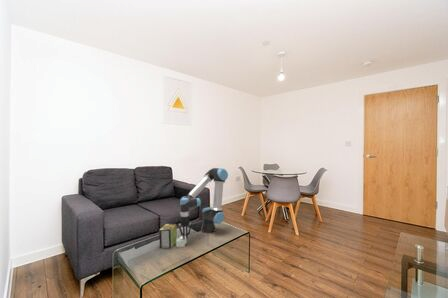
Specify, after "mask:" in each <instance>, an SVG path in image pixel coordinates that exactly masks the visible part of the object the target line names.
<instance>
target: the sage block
mask: <svg viewBox="0 0 448 298" xmlns="http://www.w3.org/2000/svg"><path fill="white" fill-rule="evenodd" d="M175 245H176V248H182V247H183V248H184V247H186V244H185V239H183V238H178V237H177V240H176V243H175Z"/></svg>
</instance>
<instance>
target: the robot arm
mask: <svg viewBox="0 0 448 298" xmlns="http://www.w3.org/2000/svg"><path fill="white" fill-rule="evenodd" d="M228 177H229V173H228V171H227V170H226V169H225V168H223V167H222V168H221V167H220V168H217V167H213V168H211V169H208V171H207V172H206V173H205V174H204V175H203V177H202V178H201V180H200V181H199V182H198V183H197V184H196V185H195V186H194V187H193V188H192V189H191V190H190V191H189V193H188V194H187V195H185V196H182V197H181V198H180V199H179V200H180V203H179V204H180V205H179V206H180V208H179V209H180V213H179V214H180V223H178V224H177V227H178V229H179V232H180V235H183V239H185V245H186V244H187V240H189V239H188V238H189V235H190V234H191V230H192V226H193V223H192V222H191V221H190V209H193V208H196V207H200V206H201V203H202V201H201V198H199V197H197V196H199V194H200V193H201V192H202V191H203V190H204V188H205V187H206V186H207V185H208V184H209V183H211V182H212V181H213V182H214V188H213V189H214V190H213V200H212V201H213V202H212V206H209V207H203V209H201V213H202V214H201V215H202V224H201V228H200V231H201V232H202V233H204V232H211V233H213V232H212V231H214V230H215V229H216V230H217V228H216V225H220V224H222V223H223V222H224V220H225V214H224V212H223V208H222V204H223V194H224V193H223V191H224V184H225V183H226V180H227V179H228ZM188 226H189V228H188ZM216 230H215V231H216ZM215 231H214V232H215Z"/></svg>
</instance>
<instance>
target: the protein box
mask: <svg viewBox="0 0 448 298" xmlns="http://www.w3.org/2000/svg"><path fill="white" fill-rule="evenodd" d="M177 227H178V224H177V223H165V224H164V225H163V226H162V227H160V229H159V230H158V231H159V233H158V234H159V249H172V248H173V246H174V245H176V240H177V238H178V234H177V233H178V229H177Z"/></svg>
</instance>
